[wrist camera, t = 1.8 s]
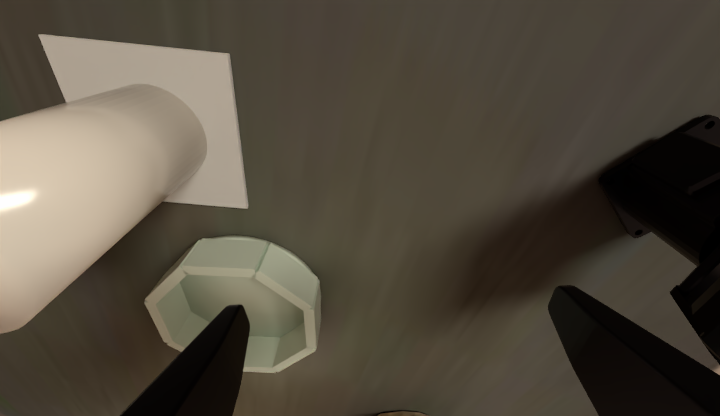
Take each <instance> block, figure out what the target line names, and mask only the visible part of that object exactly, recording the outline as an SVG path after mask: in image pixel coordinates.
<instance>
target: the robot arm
mask: <svg viewBox="0 0 720 416" xmlns="http://www.w3.org/2000/svg"><path fill="white" fill-rule="evenodd" d="M706 124H707V125H706ZM609 179H610V181H608V180H609ZM607 181H608V182H607ZM599 184H600V186H601V188H602V189H603V191H604V193H605V195H606V196H607V198H608V200H609V202H610V203H611V205H612V207H613V209H614V210H615V212H616V214H617V215H618V217H619V219H620V221H621V222H622V224H623V226H624V228H625V229H626V231H627V233H628V234H629V235H631V236H632V237H633V238H638V237H641V236H643V235H645V234H647V233H649V232H653V233H654V234H655V235H657V236H658V237H659V238H661V239H662V240H663V241H665V242H666V243H667V244H669V245H670V246H671V247H673V248H674V249H675V250H677V251H678V252H679V253H680V254H682V255H683V256H684V257H686V258H687V259H688V260H690V261H691V262H692V263H694V264H695V265H696V266H697V267H696V268H695V269H694V270H693V271H692V272H691V273H690V275H689V276H688V277H687V278H686V279H685V280H684V281H683V282H682V283H681V284H680V285H676V286H675V287H674V288H673V289H672V290H671V291H670V294H671V296H672V297H673V299H674V300H675V302H676V303H677V305H678V306H679V308H680V309H681V311H682V312H683V314H684V315H685V317H686V318H687V320H688V321H689V322H690V324H691V325H692V327H693V328H694V330H695V331H696V333H697V334H698V336H699V337H700V339H701V340H702V342H703V344H704V345H705V346H706V348H707V349H708V351H709V352H710V353H711V355H712V356H713V357H714V358H715V359H716V360H717V362H718V363H719V364H720V119H719V118H718V117H715V116H712V115H704V116H702V117H700V118H698V119H697V120H695V121H693V122H692V123H690V124H688V125H687V126H685V127H683V128H681V129H680V130H678V131H676V132H675V133H673V134H671V135H669V136H668V137H666V138H664V139H663V140H661V141H659V142H658V143H656V144H654V145H652V146H651V147H649V148H647V149H646V150H644V151H642V152H641V153H639V154H637V155H635V156H634V157H632V158H630V159H629V160H627V161H625V162H623V163H622V164H620V165H618V166H617V167H615V168H613V169H612V170H610V171H608V172H606V173H605V174H603V175H602V176H601V177H600V178H599ZM548 310H549V314H550V316H551V319H552V321H553V323H554V326H555V328H556V330H557V333H558V335H559V337H560V340H561V342H562V344H563V347H564V349H565V352H566V354H567V356H568V358H569V361H570V363H571V365H572V367H573V369H574V371H575V373H576V375H577V376H578V378H579V380H580V382H581V384H582V386H583V387H584V389H585V391H586V393H587V395H588V397H589V398H590V400H591V402H592V404H593V406H594V408H595V409H596V411H597V413H598V415H599V416H720V375H718V374H717V373H715V372H713V371H712V370H710V369H709V368H707V367H705V366H704V365H702V364H700V363H699V362H697V361H696V360H694V359H692V358H691V357H689V356H687V355H686V354H684V353H683V352H681V351H679V350H678V349H676V348H674V347H673V346H671V345H669V344H668V343H666V342H665V341H663V340H661V339H660V338H658V337H656V336H655V335H653V334H652V333H650V332H648V331H647V330H645V329H643V328H642V327H640V326H639V325H637V324H635V323H634V322H632V321H630V320H629V319H627V318H626V317H624V316H622V315H621V314H619V313H617V312H616V311H614V310H613V309H611V308H609V307H608V306H606V305H604V304H603V303H601V302H600V301H598V300H596V299H595V298H593V297H591V296H590V295H588V294H587V293H585V292H583V291H582V290H580V289H578V288H577V287H575V286H572V285H566V286H558V287H556V288H555V290H554V293H553V295H552V297H551V300H550V302H549V304H548ZM249 333H250V322H249V319H248V317H247V314H246V311H245V309H244V306H243V305H241V304H236V305H228V306H226V307H225V308H224V309H223V310H222V311H221V312H220V313H219V314H218V315H217V316H216V317H215V318H214V319H213V320H212V321H211V322H210V323H209V324H208V325H207V326H206V327H205V328H204V329H203V330H202V331H201V332H200V334H199V335H198V336H197V337H196V338H195V339H194V340H193V341H192V342H191V343H190V344H189V345H188V346H187V347H186V348H185V349H184V350H183V351H182V352H181V353H180V354H179V355H178V356H177V357H176V358H175V359H174V360H173V361H172V362H171V363H170V364H169V365H168V366H167V367H166V368H165V369H164V370H163V371H162V373H161V374H160V375H159V376H158V377H157V378H156V379H155V380H154V381H153V382H152V383H151V384H150V385H149V386H148V387H147V388H146V389H145V390H144V391H143V392H142V393H141V394H140V395H139V396H138V397H137V398H136V399H135V400H134V401H133V402H132V403H131V404H130V405H129V406H128V407H127V408H126V409H125V411H124V412H123V413H122V414H121V415H120V416H232V415H233V411H234V407H235V404H236V400H237V397H238V393H239V389H240V385H241V380H242V374H243V368H244V362H245V356H246V350H247V344H248V339H249Z"/></svg>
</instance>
